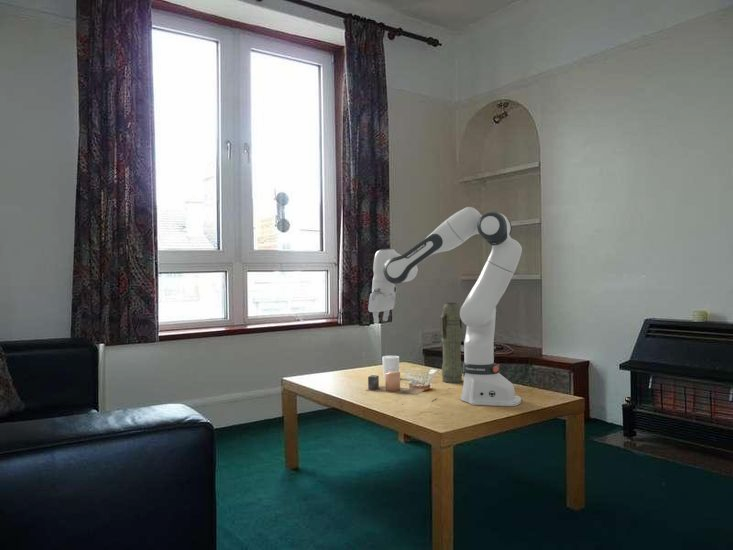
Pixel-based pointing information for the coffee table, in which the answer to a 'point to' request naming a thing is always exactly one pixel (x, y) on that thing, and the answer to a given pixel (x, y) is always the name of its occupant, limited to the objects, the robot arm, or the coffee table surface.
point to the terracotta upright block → (392, 381)
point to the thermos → (451, 343)
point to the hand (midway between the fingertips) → (380, 321)
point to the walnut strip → (374, 386)
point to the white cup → (390, 364)
